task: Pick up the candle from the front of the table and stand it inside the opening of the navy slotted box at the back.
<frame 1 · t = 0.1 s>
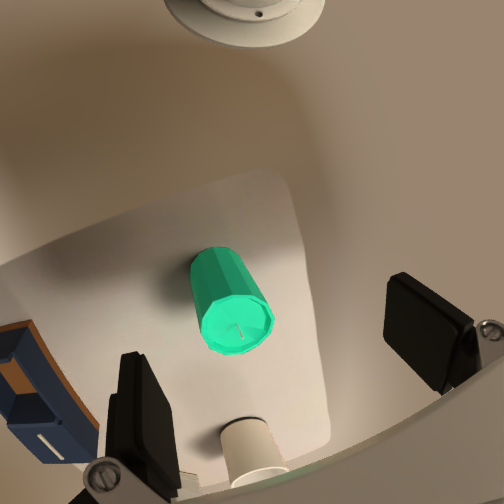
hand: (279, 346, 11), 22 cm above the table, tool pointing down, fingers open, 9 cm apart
mug: (240, 433, 45), on the table
cosmetic box: (180, 475, 47), on the table
navy slotted box: (39, 383, 33), on the table
candle: (216, 271, 34), on the table
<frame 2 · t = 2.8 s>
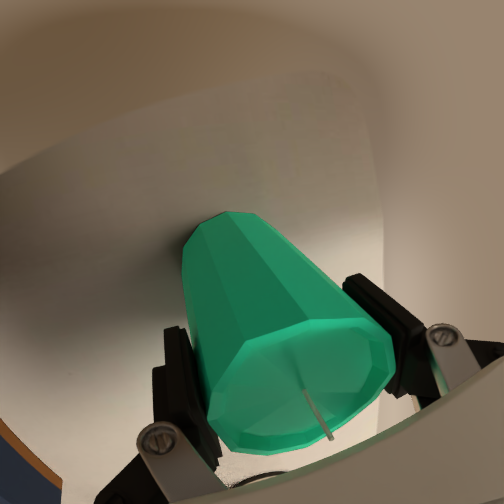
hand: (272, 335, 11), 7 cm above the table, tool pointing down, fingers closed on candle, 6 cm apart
mug: (258, 489, 29), on the table
candle: (233, 261, 18), on the table, touching gripper
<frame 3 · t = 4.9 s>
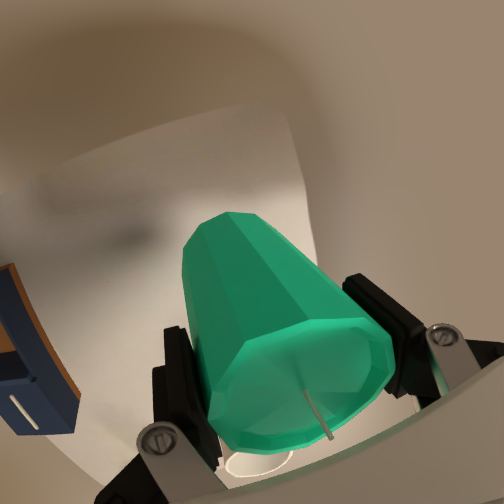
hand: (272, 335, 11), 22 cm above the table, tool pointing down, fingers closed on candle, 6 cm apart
mug: (236, 409, 43), on the table
navy slotted box: (18, 342, 30), on the table
candle: (233, 261, 18), point 15 cm above the table, touching gripper
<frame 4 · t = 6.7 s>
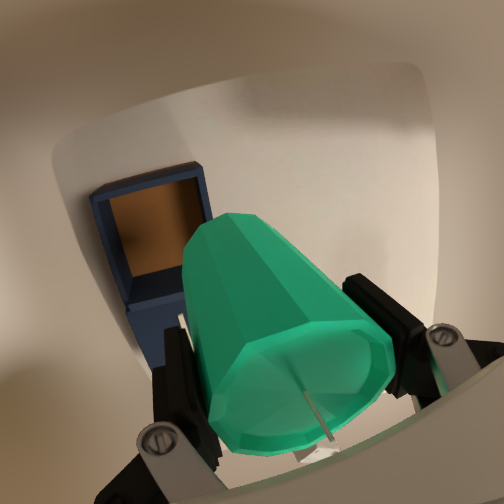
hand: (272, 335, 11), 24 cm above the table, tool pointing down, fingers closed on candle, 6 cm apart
cosmetic box: (291, 402, 48), on the table
navy slotted box: (170, 260, 34), on the table
candle: (233, 262, 18), point 16 cm above the table, touching gripper
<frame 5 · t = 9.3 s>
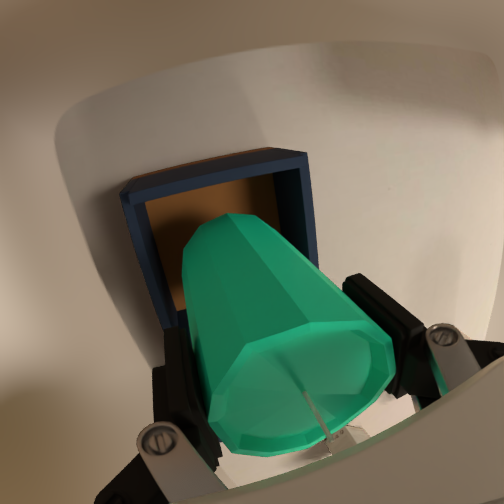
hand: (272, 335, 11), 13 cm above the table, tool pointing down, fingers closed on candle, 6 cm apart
cosmetic box: (345, 433, 39), on the table
navy slotted box: (228, 285, 25), on the table
candle: (233, 262, 18), point 6 cm above the table, touching gripper
when the fingers open (8 cm above the table, at t = 11.0 s): candle stays where it is, resting on navy slotted box.
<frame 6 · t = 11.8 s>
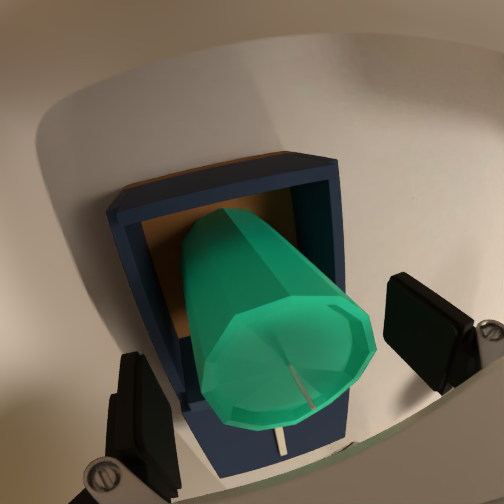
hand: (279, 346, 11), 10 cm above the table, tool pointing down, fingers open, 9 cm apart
navy slotted box: (236, 307, 22), on the table
candle: (229, 255, 19), point 1 cm above the table, touching navy slotted box
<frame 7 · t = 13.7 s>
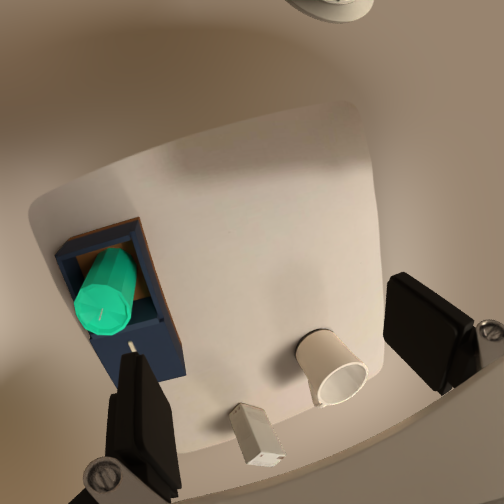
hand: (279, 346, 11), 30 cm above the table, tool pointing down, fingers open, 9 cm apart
mug: (312, 351, 53), on the table
cosmetic box: (247, 411, 54), on the table
navy slotted box: (127, 295, 40), on the table
candle: (115, 269, 37), point 1 cm above the table, touching navy slotted box
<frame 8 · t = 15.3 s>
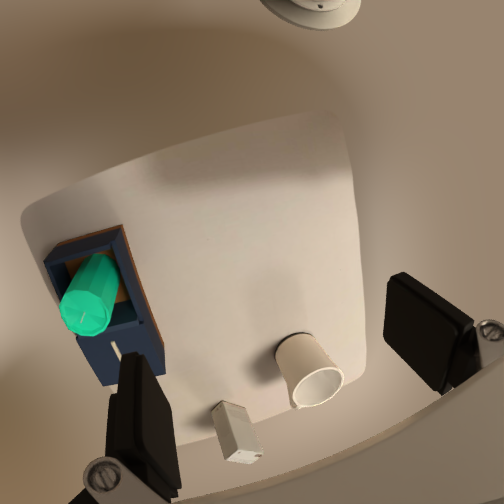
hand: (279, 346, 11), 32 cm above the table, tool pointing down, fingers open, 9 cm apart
mug: (292, 353, 54), on the table
cosmetic box: (229, 409, 56), on the table
navy slotted box: (112, 297, 42), on the table
candle: (100, 273, 39), point 1 cm above the table, touching navy slotted box
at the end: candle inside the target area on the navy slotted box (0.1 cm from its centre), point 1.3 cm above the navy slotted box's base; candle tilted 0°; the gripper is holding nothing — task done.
